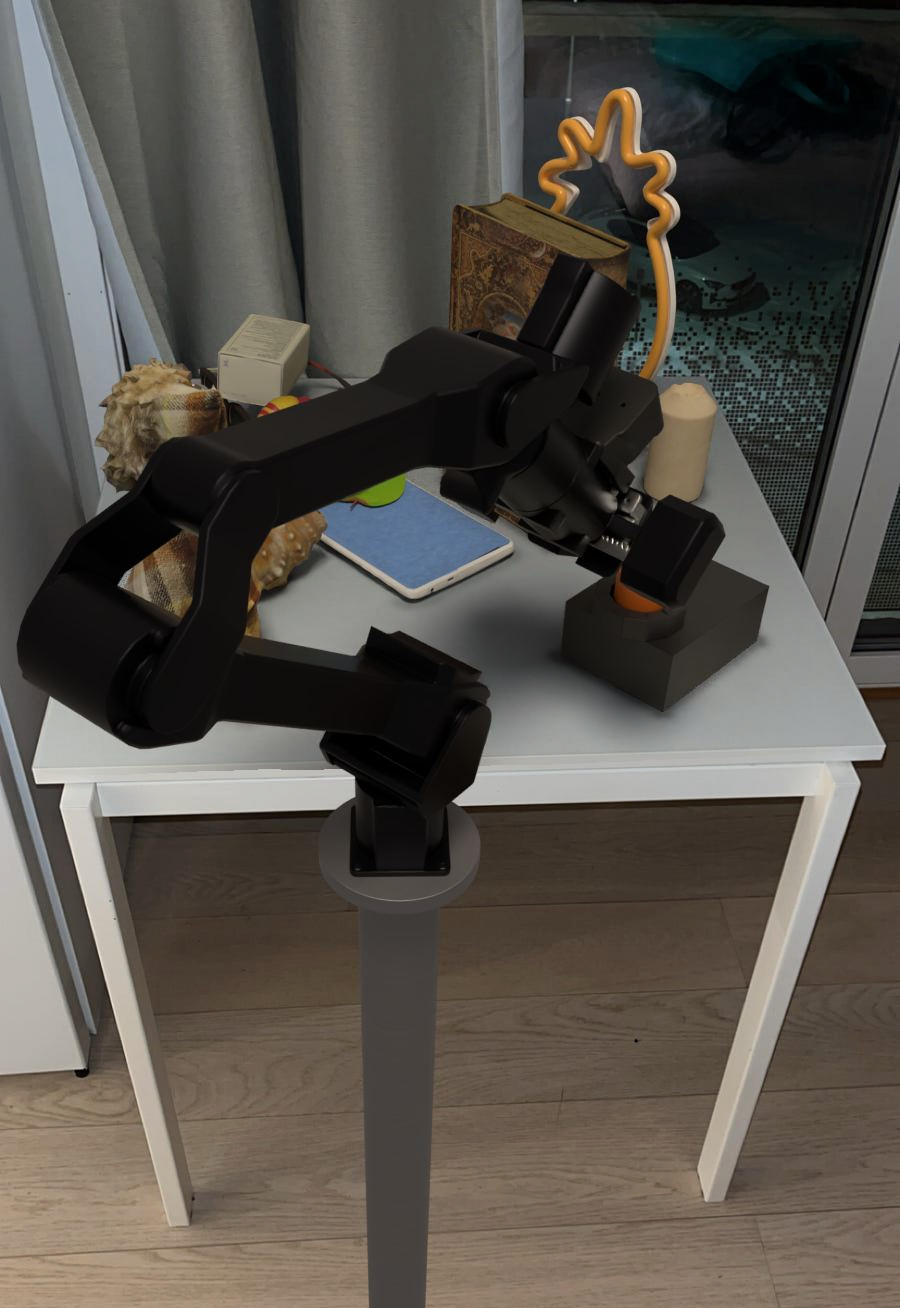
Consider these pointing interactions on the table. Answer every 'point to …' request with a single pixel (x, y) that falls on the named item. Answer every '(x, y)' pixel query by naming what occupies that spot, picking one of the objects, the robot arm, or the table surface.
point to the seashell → (288, 548)
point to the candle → (681, 443)
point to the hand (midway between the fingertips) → (624, 554)
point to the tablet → (413, 541)
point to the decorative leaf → (380, 493)
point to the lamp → (597, 143)
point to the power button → (632, 598)
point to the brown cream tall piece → (132, 432)
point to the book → (517, 264)
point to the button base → (663, 635)
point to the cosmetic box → (263, 359)
